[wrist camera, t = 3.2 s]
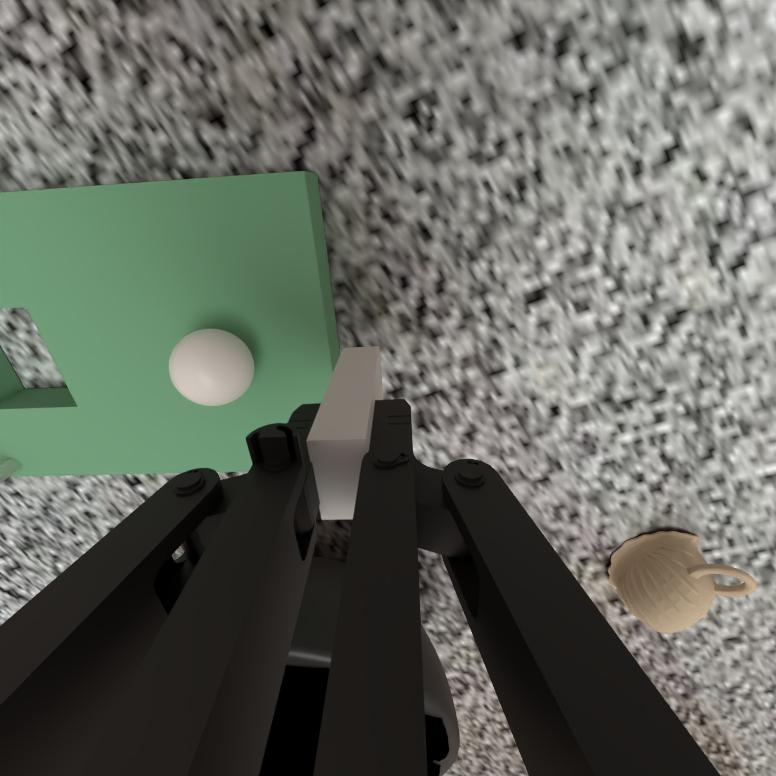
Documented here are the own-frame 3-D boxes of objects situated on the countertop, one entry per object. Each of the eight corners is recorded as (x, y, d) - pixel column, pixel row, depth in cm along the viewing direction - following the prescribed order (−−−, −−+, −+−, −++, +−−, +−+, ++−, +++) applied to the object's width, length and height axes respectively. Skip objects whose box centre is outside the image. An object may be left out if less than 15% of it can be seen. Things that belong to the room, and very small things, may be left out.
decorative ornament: (587, 569, 29) (623, 644, 24) (677, 501, 25) (740, 573, 20) (625, 587, 29) (668, 663, 25) (717, 524, 26) (788, 599, 21)
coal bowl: (208, 636, 35) (26, 1045, 18) (186, 473, 25) (-230, 1005, 9) (417, 662, 35) (430, 1078, 19) (471, 513, 26) (590, 1075, 9)
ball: (184, 320, 18) (137, 346, 14) (256, 316, 17) (224, 343, 14) (205, 385, 19) (167, 422, 16) (271, 383, 19) (245, 420, 16)
